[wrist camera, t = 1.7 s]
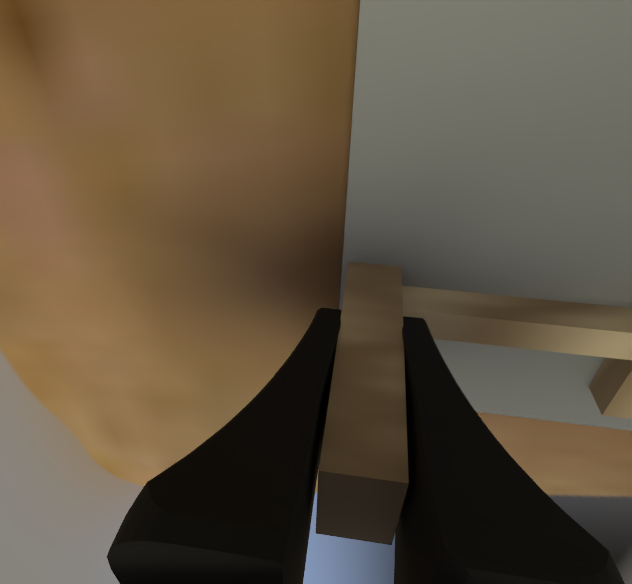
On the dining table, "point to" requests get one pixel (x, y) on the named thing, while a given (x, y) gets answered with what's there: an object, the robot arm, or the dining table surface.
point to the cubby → (498, 173)
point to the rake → (389, 381)
